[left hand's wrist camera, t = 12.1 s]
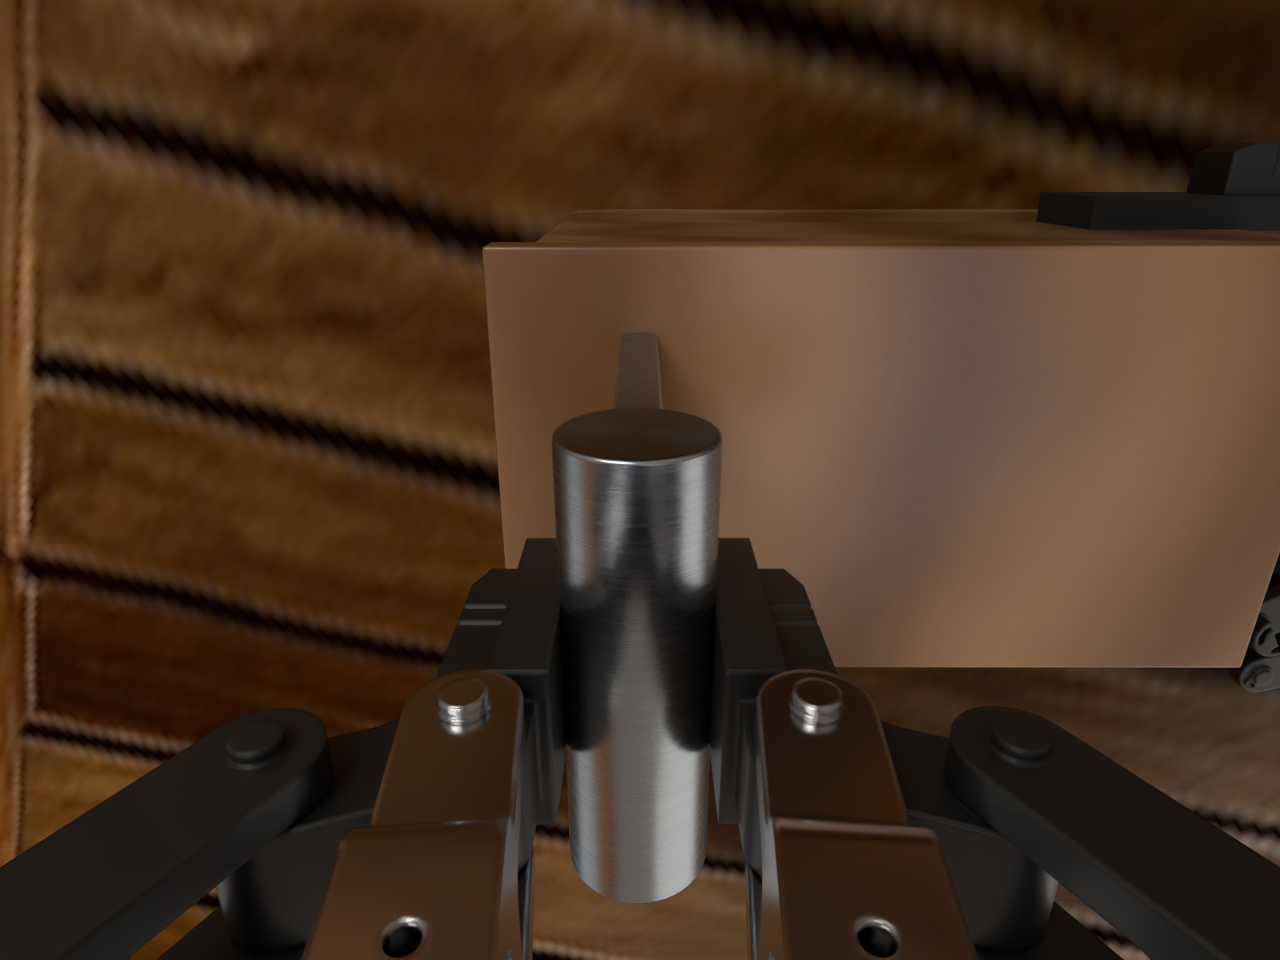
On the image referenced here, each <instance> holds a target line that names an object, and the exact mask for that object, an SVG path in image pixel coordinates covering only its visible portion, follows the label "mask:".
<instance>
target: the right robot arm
mask: <svg viewBox="0 0 1280 960" xmlns="http://www.w3.org/2000/svg"><path fill="white" fill-rule="evenodd" d="M1036 222H1043V223H1049V224H1056V225H1062V226H1069V227H1076V228H1082V229H1089V230H1249V231H1280V143H1228V144H1217V145H1214V146H1211V147H1209V148H1206V149H1204V150H1201V151H1199V152H1196V155H1195V160H1194V164H1193V168H1192V172H1191V176H1190V180H1189V184H1188V188H1187V192H1041V197H1040V203H1039V208H1038V214H1037V220H1036ZM1220 669H1221V670H1222V671H1224V672H1225V673H1226V674H1227V675H1228V676H1229V677H1230V678H1232V679H1233V680H1234V681H1235V682H1236V683H1238V684H1239V685H1240V686H1241V687H1242V688H1243V689H1244V690H1246V691H1249V692H1263V691H1267V690H1272V689H1277V688H1280V553H1279V556H1278V558H1277V561H1276V564H1275V567H1274V570H1273V573H1272V576H1271V579H1270V582H1269V585H1268V588H1267V591H1266V594H1265V597H1264V600H1263V603H1262V606H1261V609H1260V612H1259V615H1258V618H1257V621H1256V624H1255V627H1254V630H1253V632H1252V635H1251V638H1250V641H1249V644H1248V647H1247V650H1246V653H1245V656H1244V659H1243V662H1242V665H1241V667H1239V668H1220Z"/></svg>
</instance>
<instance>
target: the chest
mask: <svg viewBox="0 0 1280 960" xmlns="http://www.w3.org/2000/svg"><path fill="white" fill-rule="evenodd" d="M1037 214H1038V209H576V210H575V211H573V214H572V215H570V216H569V217H568V218H566V219H565V220H564V221H563V222H561V223H560V224H559V225H557V226H556V227H555V228H553V229H552V230H551V231H550V232H548V233H547V234H546V235H544V236H543V237H542V238H540V239H539V240H538V241H536V242H1280V234H1275V233H1267V232H1258V231H1249V230H1089V229H1082V228H1076V227H1069V226H1062V225H1056V224H1049V223H1043V222H1036V220H1037Z"/></svg>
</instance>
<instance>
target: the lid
mask: <svg viewBox="0 0 1280 960" xmlns="http://www.w3.org/2000/svg"><path fill="white" fill-rule="evenodd" d="M482 254H483V268H484V282H485V295H486V309H487V323H488V337H489V350H490V364H491V378H492V391H493V405H494V419H495V432H496V446H497V460H498V473H499V487H500V501H501V515H502V528H503V542H504V556H505V569H517V568H518V565H519V561H520V558H521V555H522V551H523V548H524V544H525V541H526V539H527V538H556V547H557V569H558V591H559V601H560V604H561V626H562V649H563V672H564V695H565V718H566V740H567V744H566V768H567V790H568V812H569V834H570V853H571V859H572V862H573V865H574V867H575V869H576V871H577V873H578V874H579V876H580V877H581V879H582V880H583V881H584V882H585V883H586V884H587V885H588V886H589V887H590V888H591V889H593V890H594V891H595V892H597V893H598V894H600V895H602V896H604V897H606V898H609V899H611V900H614V901H618V902H622V903H628V904H648V903H654V902H658V901H662V900H665V899H667V898H670V897H672V896H674V895H676V894H678V893H679V892H681V891H682V890H684V889H685V888H686V887H687V886H688V885H689V884H690V883H691V882H692V881H693V880H694V879H695V877H696V876H697V875H698V873H699V872H700V870H701V868H702V866H703V863H704V860H705V855H706V840H707V815H708V790H709V765H710V747H709V732H710V707H711V682H712V657H713V632H714V608H715V601H716V591H717V567H718V542H719V538H749V539H750V541H751V545H752V548H753V552H754V555H755V559H756V562H757V566H758V569H785V570H786V571H787V572H788V573H790V574H791V575H792V576H793V577H794V578H796V579H797V580H798V581H799V582H800V583H801V584H803V585H804V588H805V590H806V593H807V595H808V598H809V601H810V603H811V609H813V611H814V614H815V616H816V619H817V625H819V627H820V629H821V632H822V635H823V637H824V640H825V642H826V645H827V648H828V650H829V653H830V656H831V658H832V661H833V663H834V666H835V667H1148V668H1239V667H1241V665H1242V662H1243V659H1244V656H1245V653H1246V650H1247V647H1248V644H1249V641H1250V638H1251V635H1252V632H1253V630H1254V627H1255V624H1256V621H1257V618H1258V615H1259V612H1260V609H1261V606H1262V603H1263V600H1264V597H1265V594H1266V591H1267V588H1268V585H1269V582H1270V579H1271V576H1272V573H1273V570H1274V567H1275V564H1276V561H1277V558H1278V556H1279V553H1280V242H492V243H490V244H488V245H486V246H484V247H483V249H482Z"/></svg>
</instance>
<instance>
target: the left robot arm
mask: <svg viewBox="0 0 1280 960" xmlns="http://www.w3.org/2000/svg"><path fill="white" fill-rule="evenodd" d="M566 744H567V740H566V718H565V695H564V672H563V649H562V626H561V604H560V601H559V591H558V569H557V547H556V538H527V539H526V541H525V544H524V548H523V551H522V555H521V558H520V561H519V565H518V568H517V569H491V570H490V571H489V572H488V573H486V574H485V575H484V576H483V577H482V578H480V579H479V580H478V581H477V582H476V583H474V584H473V585H472V587H471V590H470V592H469V595H468V597H467V600H466V602H465V605H464V609H463V610H462V612H461V615H460V618H459V620H458V625H456V628H455V630H454V633H453V635H452V638H451V640H450V643H449V646H448V648H447V651H446V653H445V656H444V658H443V661H442V663H441V666H440V669H439V671H438V674H437V676H436V678H434V679H431V680H430V681H428V682H426V683H424V684H423V685H421V686H420V687H419V688H417V689H416V690H415V691H414V692H413V693H412V694H411V695H410V696H409V698H408V699H407V701H406V702H405V705H404V707H403V710H402V714H401V717H400V718H398V719H396V720H393V721H391V722H389V723H386V724H384V725H381V726H378V727H374V728H371V729H367V730H363V731H358V732H353V733H349V734H344V735H340V736H335V737H330V738H327V733H326V727H325V725H324V724H323V722H322V721H321V720H320V719H319V718H318V717H317V716H316V715H314V714H312V713H310V712H307V711H304V710H300V709H294V708H276V709H268V710H262V711H258V712H254V713H250V714H247V715H245V716H242V717H239V718H237V719H235V720H232V721H230V722H228V723H226V724H224V725H223V726H221V727H219V728H217V729H216V730H214V731H213V732H211V733H210V734H208V735H206V736H205V737H203V738H202V739H200V740H199V741H197V742H196V743H194V744H192V745H191V746H189V747H188V748H186V749H185V750H183V751H181V752H180V753H178V754H177V755H175V756H174V757H172V758H170V759H169V760H167V761H166V762H164V763H163V764H161V765H160V766H158V767H156V768H155V769H153V770H152V771H150V772H149V773H147V774H145V775H144V776H142V777H141V778H139V779H138V780H136V781H134V782H133V783H131V784H130V785H128V786H127V787H125V788H124V789H122V790H120V791H119V792H117V793H116V794H114V795H113V796H111V797H109V798H108V799H106V800H105V801H103V802H102V803H100V804H99V805H97V806H95V807H94V808H92V809H91V810H89V811H88V812H86V813H84V814H83V815H81V816H80V817H78V818H77V819H75V820H73V821H72V822H70V823H69V824H67V825H66V826H64V827H63V828H61V829H59V830H58V831H56V832H55V833H53V834H52V835H50V836H48V837H47V838H45V839H44V840H42V841H41V842H39V843H37V844H36V845H34V846H33V847H31V848H30V849H28V850H27V851H25V852H23V853H22V854H20V855H19V856H17V857H16V858H14V859H12V860H11V861H9V862H8V863H6V864H5V865H3V866H1V867H0V960H129V958H130V957H131V956H132V955H133V954H134V953H136V952H137V951H138V950H139V949H140V948H141V947H143V946H144V945H145V944H146V943H147V942H149V941H150V940H151V939H152V938H154V937H155V936H156V935H157V934H158V933H160V932H161V931H162V930H163V929H165V928H166V927H167V926H168V925H170V924H171V923H172V922H173V921H174V920H176V919H177V918H178V917H179V916H181V915H182V914H183V913H184V912H185V911H187V910H188V909H189V908H190V907H192V906H193V905H194V904H195V903H196V902H198V901H199V900H200V899H201V898H203V897H204V896H205V895H206V894H208V893H209V892H210V891H211V890H212V889H214V888H215V887H216V889H217V893H218V896H219V900H220V904H221V906H220V907H218V908H217V909H216V910H215V911H214V912H212V913H211V914H210V915H209V916H208V917H206V918H205V919H204V920H203V921H202V922H201V923H199V924H198V925H197V926H196V927H195V928H193V929H192V930H191V931H190V932H189V933H187V934H186V935H185V936H184V937H183V938H182V939H180V940H179V941H178V942H177V943H176V944H174V945H173V946H172V947H171V948H170V949H168V950H167V951H166V952H165V953H164V954H162V955H161V956H160V957H159V958H158V959H157V960H532V946H533V920H534V895H535V865H534V850H533V841H534V834H535V828H536V825H557V817H558V809H559V801H560V793H561V785H562V777H563V768H564V760H565V752H566ZM709 747H710V756H711V765H712V773H713V782H714V790H715V799H716V808H717V816H718V824H739V830H740V836H741V843H742V848H743V852H744V855H745V857H746V865H745V895H746V920H747V946H748V960H1123V959H1122V958H1121V957H1120V956H1119V955H1117V954H1116V953H1115V952H1114V951H1113V950H1112V949H1110V948H1109V947H1108V946H1107V945H1106V944H1104V943H1103V942H1102V941H1101V940H1100V939H1098V938H1097V937H1096V936H1095V935H1094V934H1093V933H1091V932H1090V931H1089V930H1088V929H1087V928H1085V927H1084V926H1083V925H1082V924H1081V923H1079V922H1078V921H1077V920H1076V919H1075V918H1074V917H1072V916H1071V915H1070V914H1069V913H1068V912H1066V911H1065V910H1064V909H1063V908H1062V907H1060V906H1059V905H1058V904H1057V903H1056V902H1054V898H1055V894H1056V890H1057V887H1058V883H1060V884H1061V885H1063V886H1064V887H1065V888H1066V889H1068V890H1069V891H1070V892H1071V893H1072V894H1074V895H1075V896H1076V897H1077V898H1079V899H1080V900H1081V901H1082V902H1083V903H1085V904H1086V905H1087V906H1088V907H1090V908H1091V909H1092V910H1093V911H1095V912H1096V913H1097V914H1098V915H1099V916H1101V917H1102V918H1103V919H1104V920H1106V921H1107V922H1108V923H1109V924H1110V925H1112V926H1113V927H1114V928H1115V929H1117V930H1118V931H1119V932H1120V933H1121V934H1123V935H1124V936H1125V937H1126V938H1128V939H1129V940H1130V941H1131V942H1133V943H1134V944H1135V945H1136V946H1137V947H1138V948H1140V949H1141V950H1142V951H1143V952H1144V953H1145V954H1146V955H1147V956H1148V957H1149V959H1150V960H1280V867H1278V866H1277V865H1275V864H1274V863H1272V862H1271V861H1269V860H1268V859H1266V858H1264V857H1263V856H1261V855H1260V854H1258V853H1257V852H1255V851H1253V850H1252V849H1250V848H1249V847H1247V846H1246V845H1244V844H1243V843H1241V842H1239V841H1238V840H1236V839H1235V838H1233V837H1232V836H1230V835H1228V834H1227V833H1225V832H1224V831H1222V830H1221V829H1219V828H1217V827H1216V826H1214V825H1213V824H1211V823H1210V822H1208V821H1207V820H1205V819H1203V818H1202V817H1200V816H1199V815H1197V814H1196V813H1194V812H1192V811H1191V810H1189V809H1188V808H1186V807H1185V806H1183V805H1181V804H1180V803H1178V802H1177V801H1175V800H1174V799H1172V798H1171V797H1169V796H1167V795H1166V794H1164V793H1163V792H1161V791H1160V790H1158V789H1156V788H1155V787H1153V786H1152V785H1150V784H1149V783H1147V782H1145V781H1144V780H1142V779H1141V778H1139V777H1138V776H1136V775H1135V774H1133V773H1131V772H1130V771H1128V770H1127V769H1125V768H1124V767H1122V766H1120V765H1119V764H1117V763H1116V762H1114V761H1113V760H1111V759H1109V758H1108V757H1106V756H1105V755H1103V754H1102V753H1100V752H1099V751H1097V750H1095V749H1094V748H1092V747H1091V746H1089V745H1088V744H1086V743H1084V742H1083V741H1081V740H1080V739H1078V738H1077V737H1075V736H1073V735H1072V734H1070V733H1069V732H1067V731H1066V730H1064V729H1063V728H1061V727H1059V726H1058V725H1056V724H1054V723H1052V722H1051V721H1049V720H1047V719H1044V718H1042V717H1040V716H1038V715H1035V714H1032V713H1029V712H1026V711H1022V710H1019V709H1014V708H1008V707H999V706H985V707H978V708H973V709H970V710H967V711H965V712H964V713H962V714H960V715H959V716H958V717H957V718H956V719H955V720H954V722H953V724H952V727H951V732H950V737H949V738H945V737H941V736H936V735H931V734H927V733H922V732H918V731H913V730H909V729H905V728H901V727H897V726H894V725H892V724H889V723H886V722H884V721H882V720H880V717H879V714H878V710H877V707H876V705H875V702H874V701H873V699H872V698H871V696H870V695H869V694H868V693H867V692H866V691H865V690H864V689H863V688H861V687H860V686H859V685H857V684H856V683H854V682H852V681H850V680H849V679H846V678H844V677H842V676H839V675H838V674H837V671H836V669H835V666H834V663H833V661H832V658H831V656H830V653H829V650H828V648H827V645H826V642H825V640H824V637H823V635H822V632H821V629H820V627H819V625H817V619H816V616H815V614H814V611H813V609H811V603H810V601H809V598H808V595H807V593H806V590H805V588H804V585H803V584H801V583H800V582H799V581H798V580H797V579H796V578H794V577H793V576H792V575H791V574H790V573H788V572H787V571H786V570H785V569H758V566H757V562H756V559H755V555H754V552H753V548H752V545H751V541H750V539H749V538H719V542H718V567H717V591H716V601H715V608H714V632H713V657H712V682H711V707H710V732H709Z"/></svg>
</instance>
